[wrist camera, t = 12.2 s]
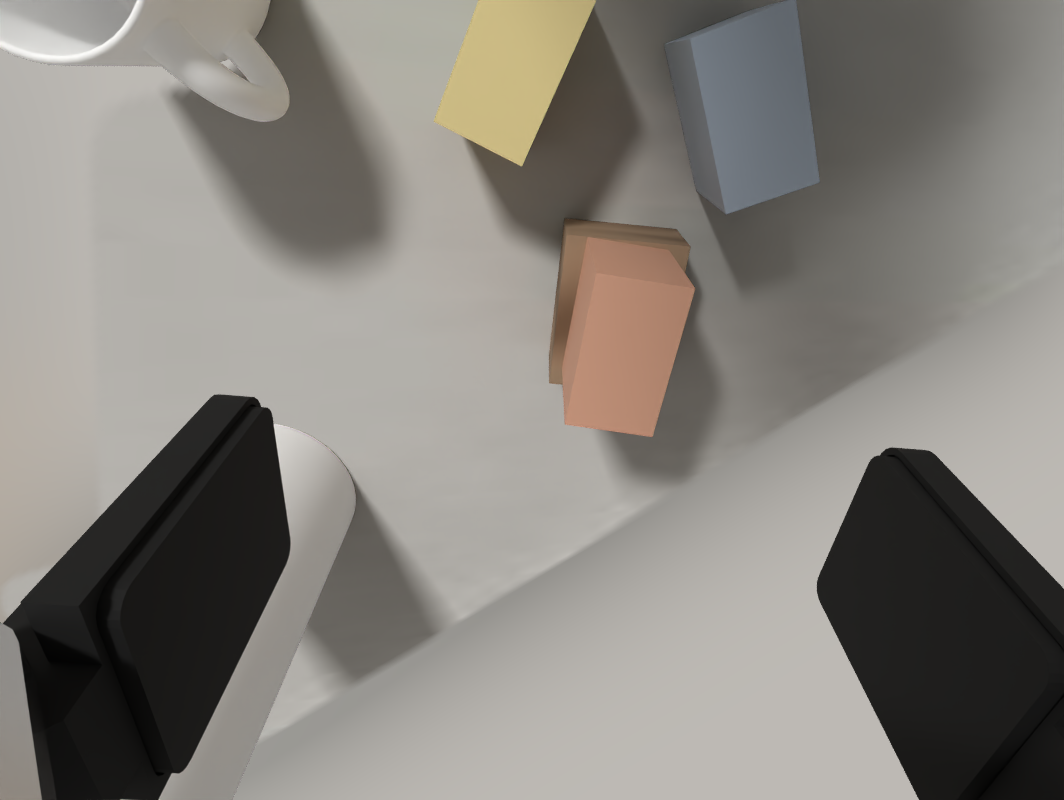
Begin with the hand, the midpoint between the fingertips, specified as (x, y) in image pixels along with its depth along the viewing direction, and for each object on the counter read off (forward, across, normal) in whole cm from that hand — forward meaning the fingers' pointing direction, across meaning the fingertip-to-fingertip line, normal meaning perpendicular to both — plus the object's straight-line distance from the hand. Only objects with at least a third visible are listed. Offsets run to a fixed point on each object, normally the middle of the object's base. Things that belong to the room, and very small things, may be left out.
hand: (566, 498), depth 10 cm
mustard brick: (+26, +2, -6) cm, 27 cm away
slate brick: (+26, -8, -4) cm, 27 cm away
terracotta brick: (+22, -4, +5) cm, 23 cm away
